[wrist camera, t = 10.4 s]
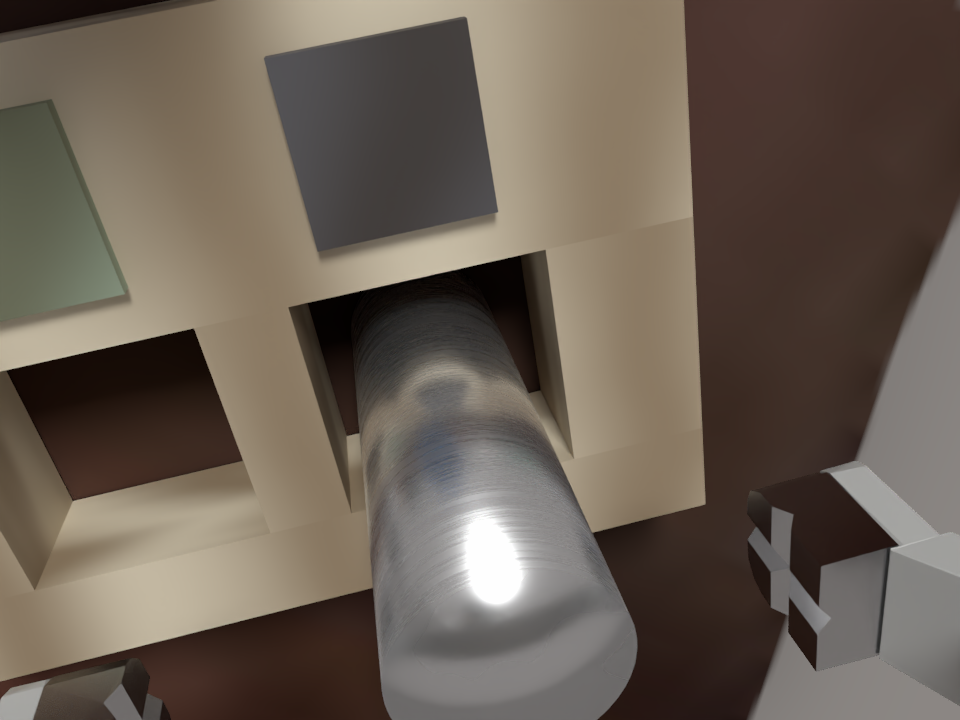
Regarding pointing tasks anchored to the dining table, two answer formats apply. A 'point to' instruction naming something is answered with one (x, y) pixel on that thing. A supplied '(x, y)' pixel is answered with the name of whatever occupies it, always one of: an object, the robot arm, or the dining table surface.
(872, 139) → the dining table surface
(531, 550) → the plug
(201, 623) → the socket block
